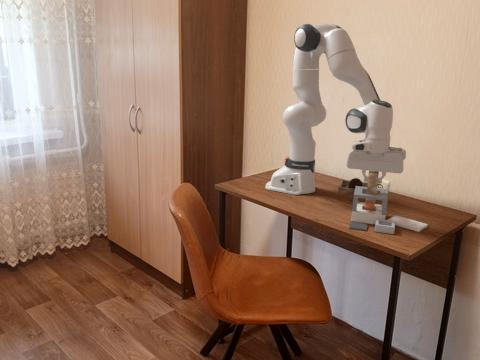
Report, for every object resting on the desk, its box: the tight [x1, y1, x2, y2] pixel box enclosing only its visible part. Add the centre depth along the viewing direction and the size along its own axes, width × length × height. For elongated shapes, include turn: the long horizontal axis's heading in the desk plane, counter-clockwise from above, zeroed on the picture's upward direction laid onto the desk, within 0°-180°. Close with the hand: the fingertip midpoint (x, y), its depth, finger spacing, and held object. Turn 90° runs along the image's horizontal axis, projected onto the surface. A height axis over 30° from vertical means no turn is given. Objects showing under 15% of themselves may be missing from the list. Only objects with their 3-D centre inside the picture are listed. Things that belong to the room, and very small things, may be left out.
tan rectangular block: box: [365, 170, 380, 203], centre depth 174 cm, size 4×4×11 cm
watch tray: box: [337, 179, 368, 196], centre depth 213 cm, size 14×14×2 cm
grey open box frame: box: [350, 186, 389, 225], centre depth 176 cm, size 12×12×10 cm
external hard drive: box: [387, 214, 429, 233], centre depth 173 cm, size 2×8×12 cm
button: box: [364, 198, 376, 211], centre depth 176 cm, size 4×4×4 cm
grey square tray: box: [374, 219, 396, 235], centre depth 167 cm, size 6×6×2 cm
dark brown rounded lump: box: [346, 177, 363, 189], centre depth 211 cm, size 8×8×7 cm
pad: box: [349, 221, 368, 232], centre depth 168 cm, size 6×6×1 cm
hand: (372, 182), depth 174 cm, fingers closed on tan rectangular block, 3 cm apart
